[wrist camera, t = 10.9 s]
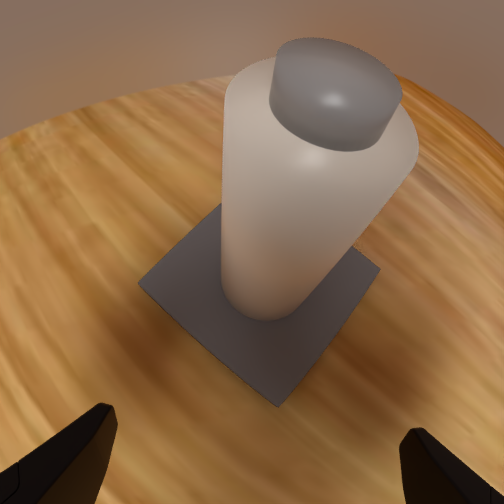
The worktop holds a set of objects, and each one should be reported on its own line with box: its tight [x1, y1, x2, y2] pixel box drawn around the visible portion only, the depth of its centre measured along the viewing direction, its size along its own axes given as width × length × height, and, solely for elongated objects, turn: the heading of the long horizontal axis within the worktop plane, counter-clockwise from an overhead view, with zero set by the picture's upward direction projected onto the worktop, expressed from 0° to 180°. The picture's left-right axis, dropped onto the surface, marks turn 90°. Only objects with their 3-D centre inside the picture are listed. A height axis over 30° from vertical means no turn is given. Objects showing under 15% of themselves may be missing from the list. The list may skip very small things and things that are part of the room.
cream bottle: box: [221, 38, 419, 321], centre depth 12 cm, size 5×5×13 cm
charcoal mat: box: [138, 203, 380, 408], centre depth 18 cm, size 10×10×1 cm
